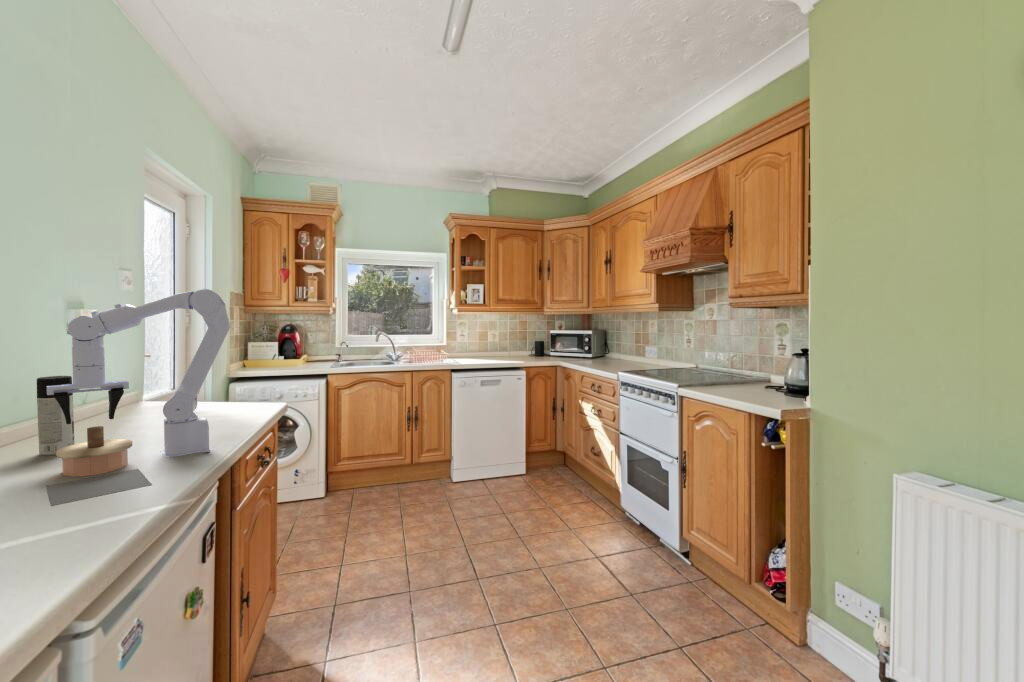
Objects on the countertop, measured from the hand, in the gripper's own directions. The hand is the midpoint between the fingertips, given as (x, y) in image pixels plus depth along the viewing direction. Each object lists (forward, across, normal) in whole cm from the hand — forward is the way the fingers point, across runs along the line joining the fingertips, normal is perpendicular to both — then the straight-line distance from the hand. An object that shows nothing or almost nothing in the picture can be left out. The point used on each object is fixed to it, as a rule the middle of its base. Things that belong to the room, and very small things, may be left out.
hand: (90, 421), depth 111 cm
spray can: (+11, +5, -18) cm, 21 cm away
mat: (+10, +1, +23) cm, 25 cm away
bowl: (+10, 0, +8) cm, 13 cm away
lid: (+5, 0, +9) cm, 10 cm away
